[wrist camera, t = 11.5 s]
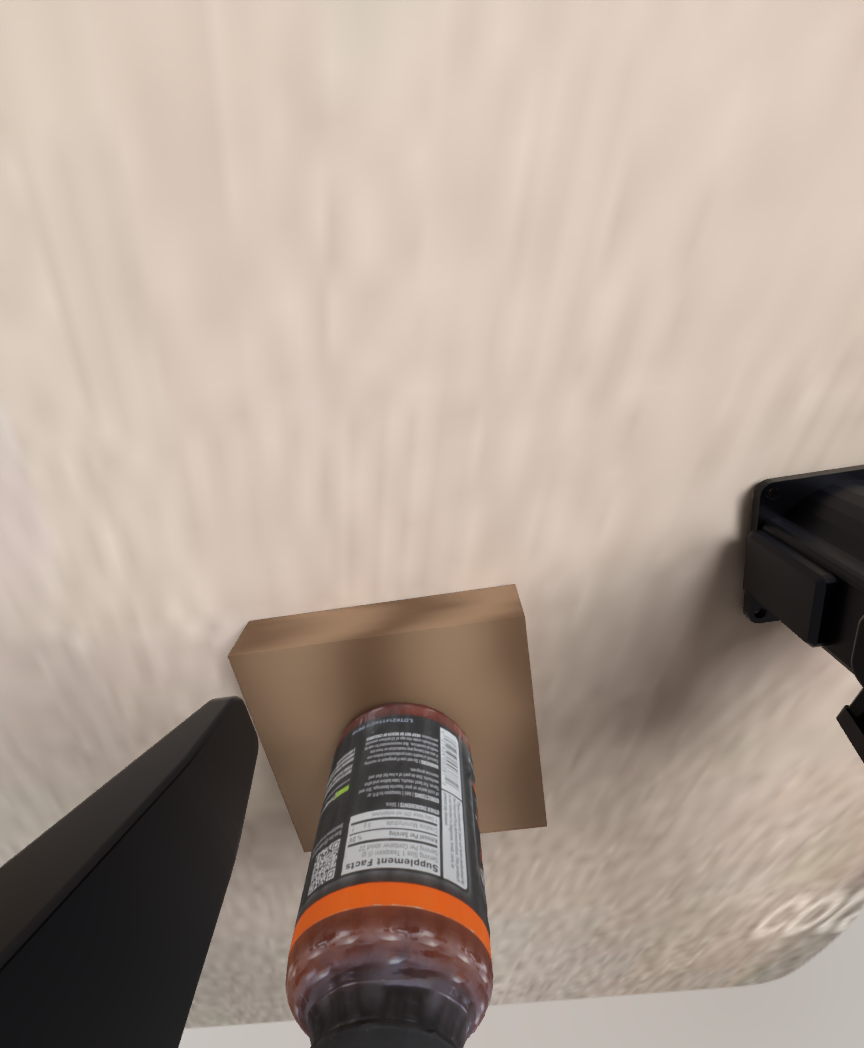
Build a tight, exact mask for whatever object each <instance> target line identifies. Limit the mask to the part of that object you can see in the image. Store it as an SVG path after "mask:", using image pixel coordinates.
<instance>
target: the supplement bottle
mask: <svg viewBox="0 0 864 1048" xmlns="http://www.w3.org/2000/svg"><path fill="white" fill-rule="evenodd" d="M492 980H493V972H492V959H491V949H490V929H489V923H488V918H487V903H486V896H485V881H484V873H483V863H482V853H481V843H480V831H479V823H478V809H477V800H476V790H475V776H474V769H473V761H472V756H471V750H470V745H469V743H468V740H467V738H466V735H465V733H464V731H463V730H462V729H461V728H460V727H459V726H458V725H457V724H456V723H455V722H454V721H453V720H451V719H450V718H449V717H448V716H447V715H445V714H444V713H442V712H440V711H438V710H436V709H434V708H431V707H428V706H426V705H421V704H414V703H406V702H404V703H391V704H384V705H381V706H378V707H375V708H373V709H370V710H368V711H366V712H364V713H362V714H361V715H359V716H358V717H356V718H355V719H354V720H353V721H352V722H351V723H350V724H349V725H348V726H347V727H346V729H345V730H344V732H343V733H342V735H341V737H340V739H339V741H338V744H337V748H336V751H335V754H334V757H333V762H332V766H331V771H330V775H329V779H328V783H327V788H326V792H325V796H324V801H323V805H322V809H321V814H320V819H319V823H318V827H317V832H316V837H315V841H314V845H313V849H312V853H311V858H310V862H309V867H308V872H307V876H306V881H305V885H304V890H303V893H302V898H301V903H300V907H299V911H298V916H297V919H296V925H295V930H294V934H293V938H292V943H291V947H290V952H289V957H288V965H287V974H286V993H287V999H288V1003H289V1006H290V1009H291V1011H292V1013H293V1016H294V1018H295V1020H296V1021H297V1023H298V1024H299V1025H300V1027H301V1029H302V1030H303V1031H304V1032H305V1033H306V1034H307V1035H308V1036H309V1038H310V1041H311V1047H310V1048H463V1047H464V1044H465V1042H466V1040H467V1038H469V1037H470V1035H471V1034H472V1033H474V1032H475V1030H476V1029H477V1027H478V1026H479V1024H480V1023H481V1021H482V1019H483V1018H484V1016H485V1012H486V1010H487V1008H488V1005H489V1003H490V999H491V994H492V988H493V982H492Z"/></svg>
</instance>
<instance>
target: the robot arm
mask: <svg viewBox="0 0 864 1048" xmlns="http://www.w3.org/2000/svg"><path fill="white" fill-rule="evenodd" d="M773 488H774V491H773V493H772V494H771V495H770V496H768V497H767V493H768V491H769V490H770V489H773ZM743 588H744V589H745V596H744V607H743V612H744V614H745V616H746V617H747V618H748V619H749V620H751V621H752V622H754V623H764V622H771V621H779V620H780V621H781V622H783V623H784V624H785V625H786V626H787V627H788V628H789V629H791V630H792V631H793V632H794V633H795V634H796V635H797V636H799V637H800V638H801V639H802V640H803V641H804V642H806V643H807V644H808V645H810V646H811V647H819V646H821V647H822V648H823V649H825V650H826V651H827V652H828V653H829V654H831V655H832V656H833V657H834V658H835V659H836V660H838V661H839V662H840V663H841V664H842V665H843V666H845V667H846V668H847V669H848V670H849V671H851V672H852V673H853V674H854V675H855V677H856V678H857V680H858V681H859V683H860V684H861V685H862V687H863V688H862V689H861V691H860V692H859V694H858V695H857V696H856V698H855V699H854V700H853V702H852V703H851V704H850V706H849V705H845V706H844V708H843V709H842V710H841V712H840V713H839V715H838V716H837V717H836V719H837V721H838V722H839V724H840V726H841V727H842V729H843V730H844V732H845V734H846V735H847V737H848V738H849V740H850V742H851V743H852V745H853V747H854V748H855V750H856V751H857V753H858V755H859V756H860V758H861V759H862V761H863V763H864V465H859V466H852V467H845V468H839V469H832V470H825V471H818V472H812V473H805V474H798V475H791V476H785V477H778V478H771V479H767V480H763V481H762V482H761V483H759V484H758V485H757V487H756V488H755V491H754V499H753V510H752V521H751V532H750V534H749V536H748V538H747V547H746V558H745V569H744V580H743ZM760 608H761V609H760ZM758 609H760V611H758V612H757V613H755V611H757V610H758ZM257 755H258V737H257V734H256V731H255V729H254V726H253V724H252V721H251V719H250V716H249V714H248V711H247V708H246V706H245V704H244V702H243V700H242V699H241V698H240V697H237V696H231V697H223V698H216V699H212V700H210V701H209V702H207V703H206V704H205V705H204V706H202V707H201V708H200V709H199V710H197V711H196V712H195V713H194V714H192V715H191V716H190V717H189V718H187V719H186V720H185V721H184V722H182V723H181V724H180V725H179V726H177V727H176V728H175V729H174V730H172V731H171V732H170V733H169V734H167V735H166V736H165V737H164V738H162V739H161V740H160V741H158V742H157V743H156V744H155V745H153V746H152V747H151V748H150V749H148V750H147V751H146V752H145V753H143V754H142V755H141V756H140V757H138V758H137V759H136V760H135V761H133V762H132V763H131V764H130V765H128V766H127V767H126V768H125V769H123V770H122V771H121V772H120V773H118V774H117V775H116V776H115V777H113V778H112V779H111V780H110V781H108V782H107V783H106V784H105V785H103V786H102V787H101V788H100V789H98V790H97V791H96V792H95V793H93V794H92V795H91V796H89V797H88V798H87V799H86V800H84V801H83V802H82V803H81V804H79V805H78V806H77V807H76V808H74V809H73V810H72V811H71V812H69V813H68V814H67V815H66V816H64V817H63V818H62V819H61V820H59V821H58V822H57V823H56V824H54V825H53V826H52V827H51V828H49V829H48V830H47V831H46V832H44V833H43V834H42V835H41V836H39V837H38V838H37V839H36V840H34V841H33V842H32V843H31V844H29V845H28V846H27V847H25V848H24V849H23V850H22V851H20V852H19V853H18V854H17V855H15V856H14V857H13V858H12V859H10V860H9V861H8V862H7V863H5V864H4V865H3V866H2V867H0V1048H178V1047H179V1043H180V1040H181V1037H182V1033H183V1030H184V1027H185V1024H186V1020H187V1017H188V1014H189V1011H190V1007H191V1004H192V1001H193V998H194V994H195V991H196V988H197V985H198V981H199V978H200V975H201V971H202V968H203V965H204V962H205V958H206V955H207V952H208V949H209V945H210V942H211V939H212V936H213V932H214V929H215V926H216V923H217V919H218V916H219V913H220V909H221V906H222V903H223V900H224V896H225V893H226V890H227V887H228V883H229V880H230V877H231V873H232V870H233V866H234V863H235V859H236V855H237V851H238V847H239V842H240V838H241V833H242V828H243V823H244V818H245V813H246V808H247V803H248V799H249V794H250V789H251V784H252V779H253V774H254V769H255V764H256V759H257Z"/></svg>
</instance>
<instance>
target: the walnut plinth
mask: <svg viewBox="0 0 864 1048" xmlns="http://www.w3.org/2000/svg"><path fill="white" fill-rule="evenodd" d="M228 658H229V661H230V663H231V666H232V668H233V671H234V673H235V676H236V679H237V681H238V684H239V686H240V689H241V691H242V694H243V696H244V699H245V701H246V704H247V707H248V709H249V712H250V714H251V717H252V719H253V722H254V724H255V727H256V730H257V732H258V735H259V737H260V740H261V742H262V745H263V747H264V750H265V753H266V755H267V758H268V760H269V763H270V765H271V768H272V770H273V773H274V776H275V778H276V781H277V783H278V786H279V788H280V791H281V793H282V796H283V799H284V801H285V804H286V806H287V809H288V811H289V814H290V816H291V819H292V821H293V824H294V827H295V829H296V832H297V834H298V837H299V839H300V842H301V844H302V847H303V850H304V852H311V851H312V849H313V845H314V841H315V837H316V832H317V827H318V823H319V819H320V814H321V809H322V805H323V801H324V796H325V792H326V788H327V783H328V779H329V775H330V771H331V766H332V762H333V757H334V754H335V751H336V748H337V744H338V741H339V739H340V737H341V735H342V733H343V732H344V730H345V729H346V727H347V726H348V725H349V724H350V723H351V722H352V721H353V720H354V719H355V718H356V717H358V716H359V715H361V714H362V713H364V712H366V711H368V710H370V709H373V708H375V707H378V706H381V705H384V704H391V703H404V702H406V703H414V704H421V705H426V706H428V707H431V708H434V709H436V710H438V711H440V712H442V713H444V714H445V715H447V716H448V717H449V718H450V719H451V720H453V721H454V722H455V723H456V724H457V725H458V726H459V727H460V728H461V729H462V730H463V731H464V733H465V735H466V738H467V740H468V743H469V745H470V750H471V756H472V761H473V769H474V776H475V790H476V800H477V809H478V823H479V831H480V833H489V832H499V831H508V830H517V829H527V828H536V827H545V826H547V821H546V812H545V803H544V793H543V784H542V774H541V765H540V756H539V746H538V737H537V727H536V718H535V708H534V699H533V690H532V680H531V671H530V661H529V652H528V643H527V633H526V624H525V616H524V612H523V609H522V606H521V602H520V599H519V596H518V593H517V589H516V586H515V584H513V585H506V586H499V587H491V588H484V589H477V590H470V591H463V592H455V593H448V594H441V595H434V596H427V597H419V598H412V599H405V600H398V601H391V602H383V603H376V604H369V605H362V606H355V607H348V608H340V609H333V610H326V611H319V612H312V613H304V614H297V615H290V616H283V617H276V618H268V619H261V620H254V621H249V622H248V624H247V626H246V627H245V629H244V630H243V632H242V634H241V635H240V637H239V639H238V640H237V642H236V644H235V645H234V647H233V648H232V650H231V652H230V653H229V655H228Z"/></svg>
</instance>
